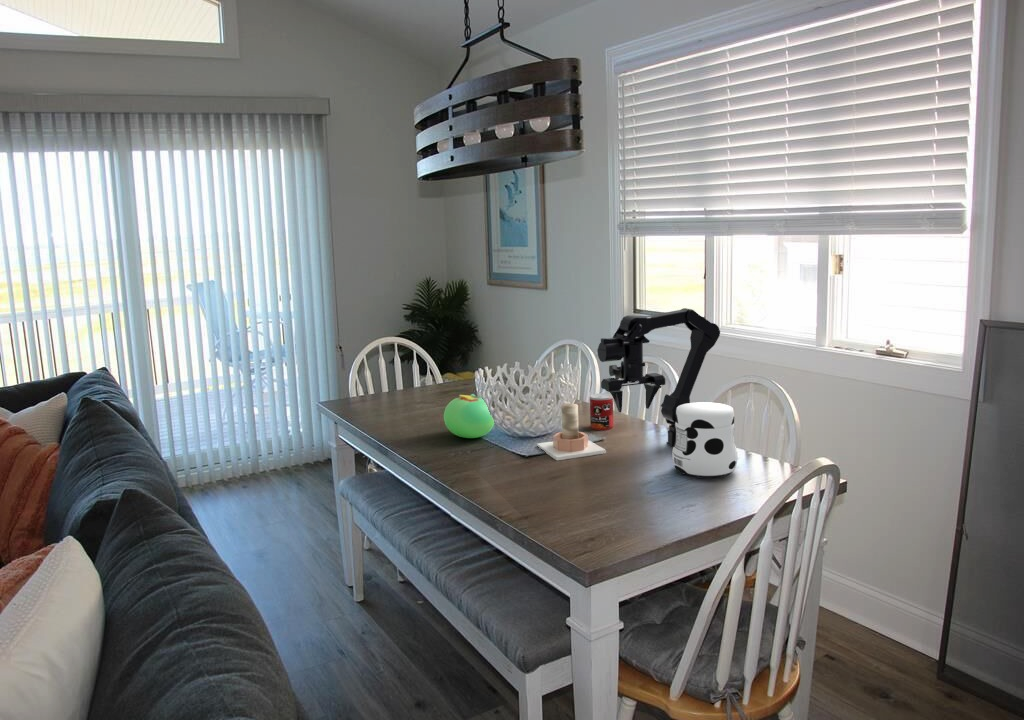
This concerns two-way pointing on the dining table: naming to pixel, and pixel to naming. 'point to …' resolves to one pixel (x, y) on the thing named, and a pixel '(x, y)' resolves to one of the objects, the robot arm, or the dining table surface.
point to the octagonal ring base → (570, 447)
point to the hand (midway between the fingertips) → (633, 410)
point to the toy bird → (468, 417)
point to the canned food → (601, 411)
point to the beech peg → (570, 421)
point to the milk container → (704, 440)
